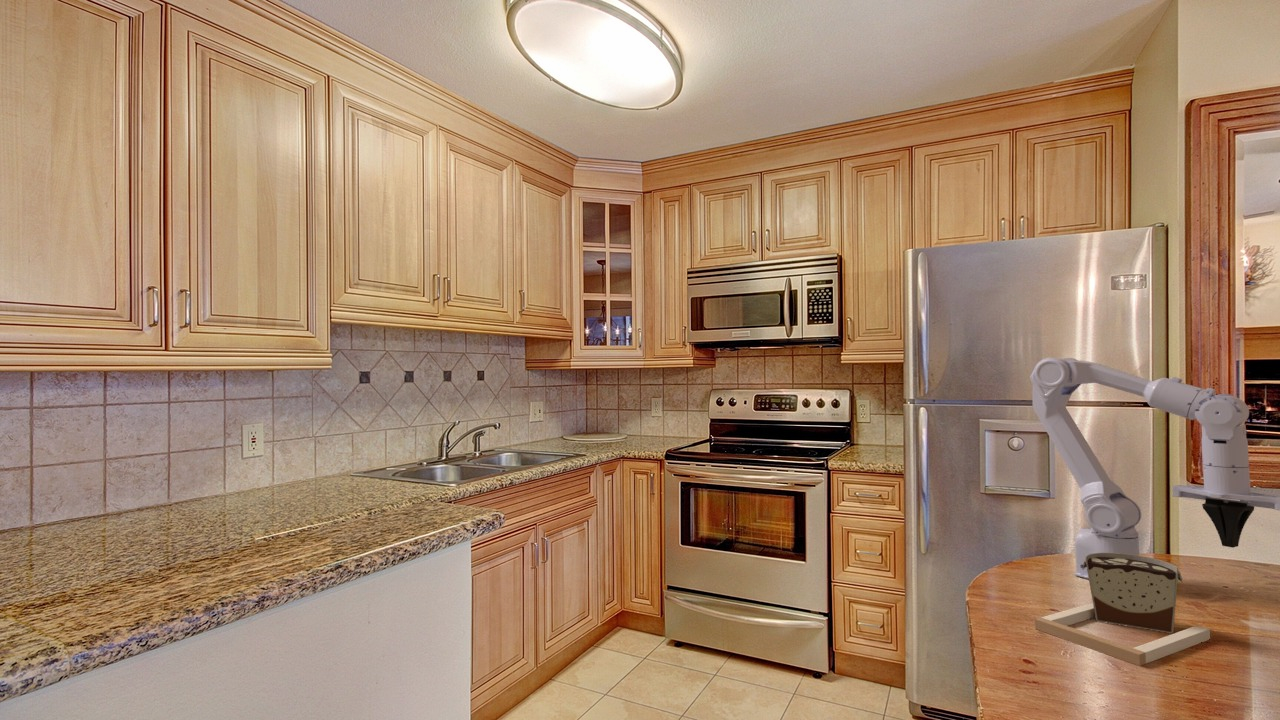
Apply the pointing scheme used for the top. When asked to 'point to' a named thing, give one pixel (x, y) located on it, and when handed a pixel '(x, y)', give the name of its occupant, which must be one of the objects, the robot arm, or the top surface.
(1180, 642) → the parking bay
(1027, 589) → the top surface
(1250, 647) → the top surface
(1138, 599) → the food container
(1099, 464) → the robot arm
